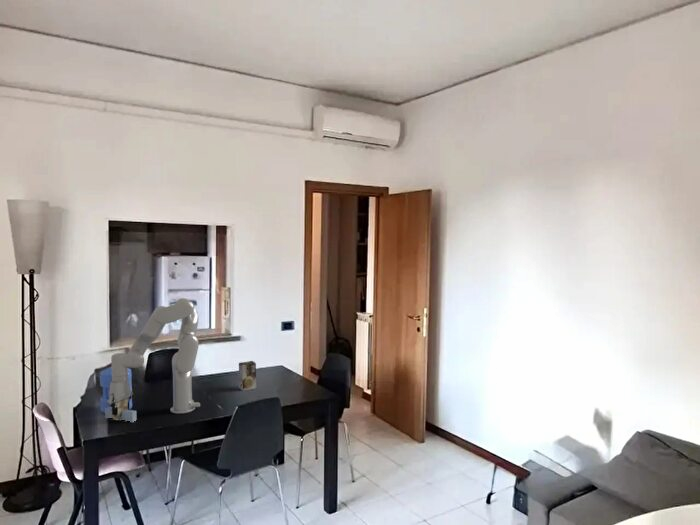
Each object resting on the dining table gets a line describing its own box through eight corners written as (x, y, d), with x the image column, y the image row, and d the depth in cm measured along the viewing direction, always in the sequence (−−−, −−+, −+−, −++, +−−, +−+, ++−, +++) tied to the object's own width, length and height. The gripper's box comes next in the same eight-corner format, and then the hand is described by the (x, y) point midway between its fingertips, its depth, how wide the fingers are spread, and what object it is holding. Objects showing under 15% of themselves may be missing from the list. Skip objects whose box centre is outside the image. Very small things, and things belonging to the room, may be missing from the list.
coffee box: (252, 386, 317) (252, 360, 316) (256, 388, 311) (256, 362, 311) (238, 388, 312) (238, 362, 311) (242, 391, 306) (242, 364, 306)
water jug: (120, 403, 284) (119, 353, 283) (138, 407, 276) (137, 356, 275) (94, 411, 271) (92, 359, 270) (112, 416, 263) (111, 362, 262)
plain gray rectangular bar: (136, 420, 256) (136, 410, 256) (132, 422, 254) (132, 412, 254) (109, 416, 263) (109, 406, 262) (105, 418, 260) (104, 408, 260)
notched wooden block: (124, 415, 262) (123, 397, 262) (128, 415, 261) (127, 398, 261) (113, 419, 256) (113, 402, 255) (117, 420, 255) (117, 402, 254)
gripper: (127, 373, 267) (128, 406, 268) (100, 381, 251) (101, 417, 251) (138, 374, 264) (139, 407, 265) (112, 383, 248) (113, 419, 249)
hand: (120, 412), depth 258 cm, fingers closed on notched wooden block, 6 cm apart
